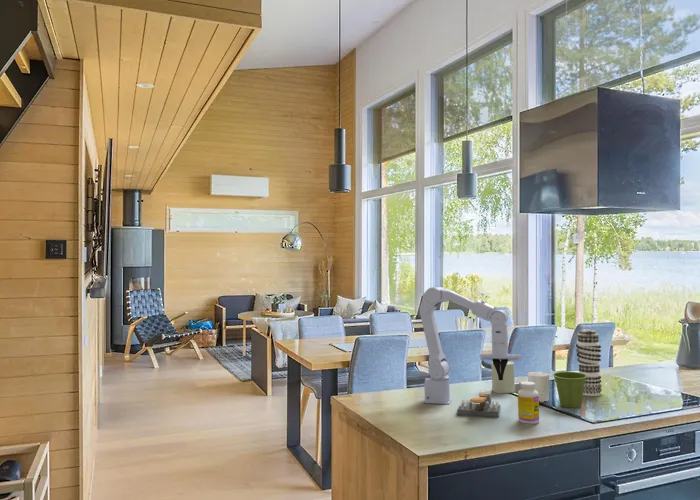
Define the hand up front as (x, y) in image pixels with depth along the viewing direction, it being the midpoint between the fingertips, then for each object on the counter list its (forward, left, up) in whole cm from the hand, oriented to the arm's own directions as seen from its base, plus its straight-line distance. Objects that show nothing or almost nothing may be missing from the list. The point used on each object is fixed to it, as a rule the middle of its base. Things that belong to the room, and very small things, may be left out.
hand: (500, 379), depth 209 cm
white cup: (+13, +12, -10) cm, 21 cm away
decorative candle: (+32, +27, -10) cm, 43 cm away
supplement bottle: (+10, -18, -10) cm, 23 cm away
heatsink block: (-7, -11, -10) cm, 16 cm away
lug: (-6, -1, -10) cm, 11 cm away
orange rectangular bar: (-7, -11, -6) cm, 14 cm away
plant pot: (+24, +6, -10) cm, 27 cm away
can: (-1, +25, -10) cm, 27 cm away
